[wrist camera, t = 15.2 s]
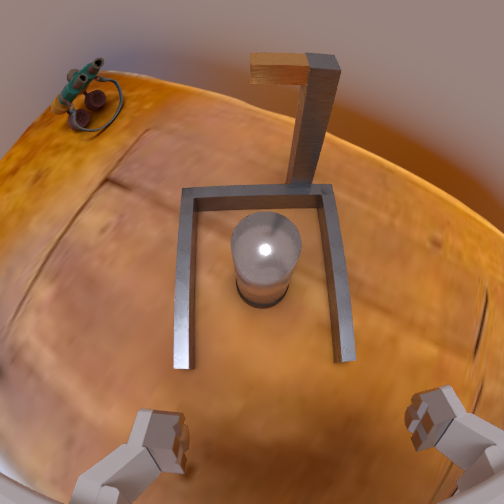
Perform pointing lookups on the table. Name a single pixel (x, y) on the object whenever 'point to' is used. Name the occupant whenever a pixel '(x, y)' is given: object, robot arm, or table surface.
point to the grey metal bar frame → (276, 198)
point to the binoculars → (78, 86)
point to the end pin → (264, 257)
